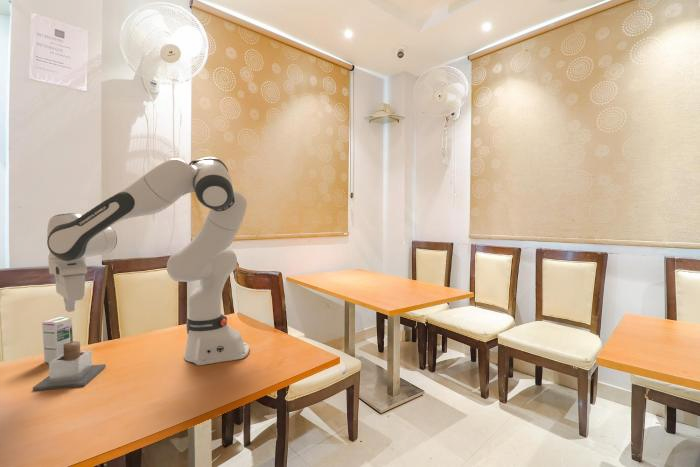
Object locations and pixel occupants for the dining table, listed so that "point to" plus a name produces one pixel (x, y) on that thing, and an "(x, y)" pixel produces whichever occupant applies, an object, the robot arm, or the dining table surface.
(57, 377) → the square collar
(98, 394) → the dining table surface
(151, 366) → the dining table surface
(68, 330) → the syrup box
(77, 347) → the walnut peg
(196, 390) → the dining table surface
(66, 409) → the dining table surface
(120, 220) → the robot arm
